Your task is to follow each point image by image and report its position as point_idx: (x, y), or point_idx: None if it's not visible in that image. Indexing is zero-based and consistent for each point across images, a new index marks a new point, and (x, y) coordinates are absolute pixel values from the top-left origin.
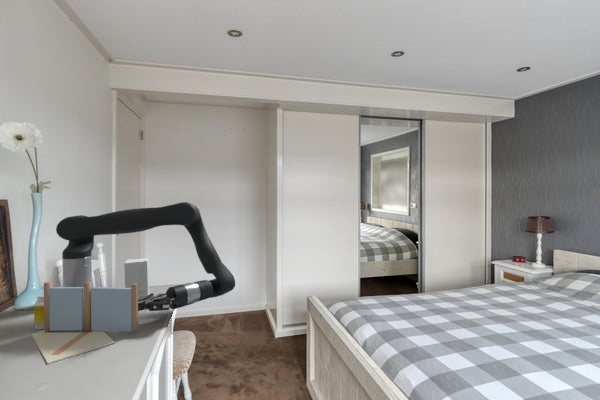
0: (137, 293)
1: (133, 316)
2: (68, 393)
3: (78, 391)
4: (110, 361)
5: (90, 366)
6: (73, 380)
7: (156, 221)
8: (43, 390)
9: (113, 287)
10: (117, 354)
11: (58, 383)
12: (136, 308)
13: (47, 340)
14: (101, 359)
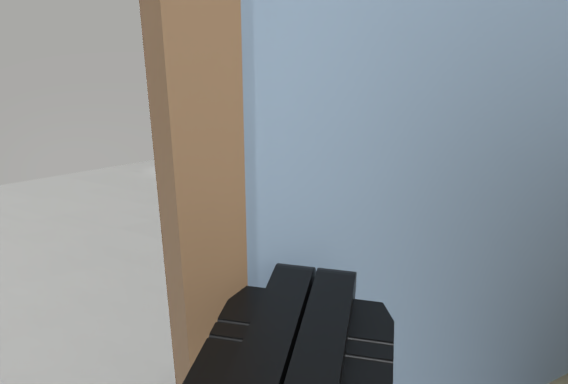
0: (157, 30)
1: None
2: (49, 178)
3: (23, 186)
4: (49, 268)
5: (114, 232)
6: (95, 195)
7: None
8: (141, 168)
9: None
10: (64, 304)
11: (131, 182)
12: (167, 272)
13: None
14: (114, 261)
